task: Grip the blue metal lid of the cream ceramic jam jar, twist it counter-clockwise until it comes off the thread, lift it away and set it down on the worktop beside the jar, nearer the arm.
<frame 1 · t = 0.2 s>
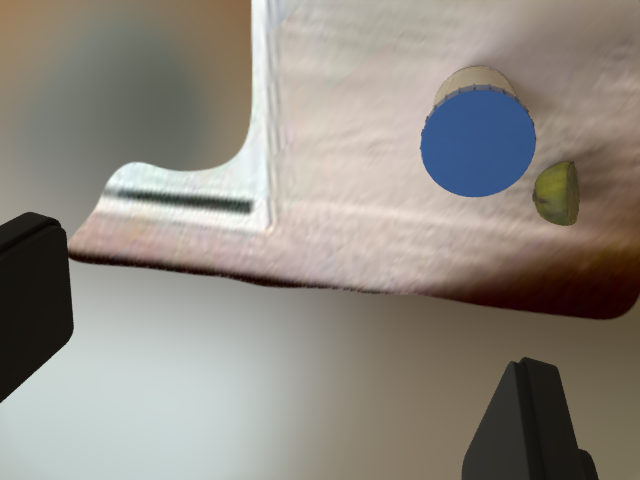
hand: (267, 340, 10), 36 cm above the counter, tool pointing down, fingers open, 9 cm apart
jar: (473, 107, 41), on the counter
lime: (557, 183, 42), on the counter
lid: (476, 144, 32), point 11 cm above the counter, screwed on, not yet turned
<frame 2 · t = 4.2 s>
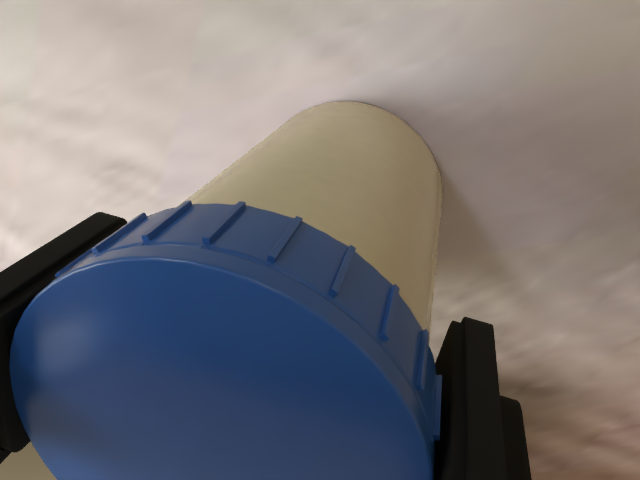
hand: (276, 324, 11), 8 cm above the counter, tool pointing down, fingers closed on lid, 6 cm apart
jar: (346, 195, 17), on the counter
lid: (215, 435, 8), point 11 cm above the counter, screwed on, not yet turned, touching gripper
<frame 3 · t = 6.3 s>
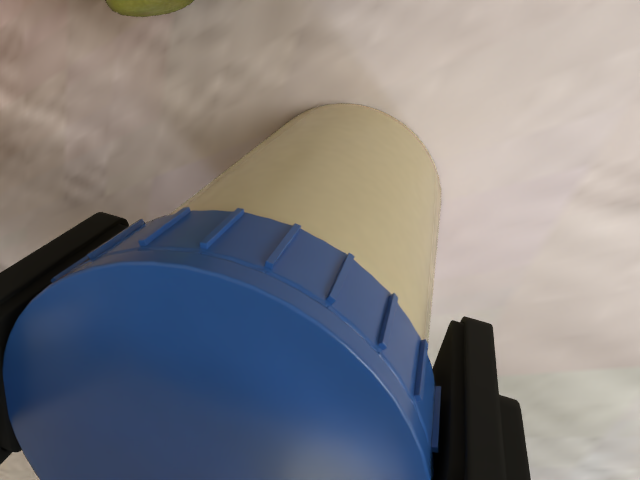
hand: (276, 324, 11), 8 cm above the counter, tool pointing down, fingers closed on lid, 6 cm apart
jar: (345, 197, 17), on the counter
lid: (210, 446, 8), point 11 cm above the counter, off its thread, touching gripper
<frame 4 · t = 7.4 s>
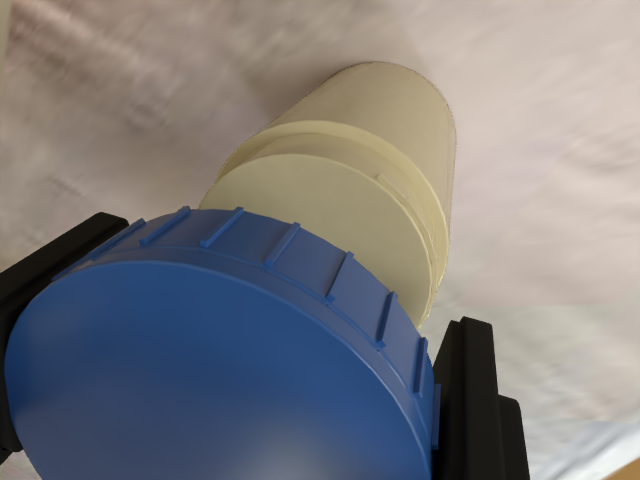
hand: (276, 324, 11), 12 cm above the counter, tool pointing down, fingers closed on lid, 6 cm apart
jar: (376, 143, 21), on the counter
lid: (210, 444, 8), point 15 cm above the counter, off its thread, touching gripper
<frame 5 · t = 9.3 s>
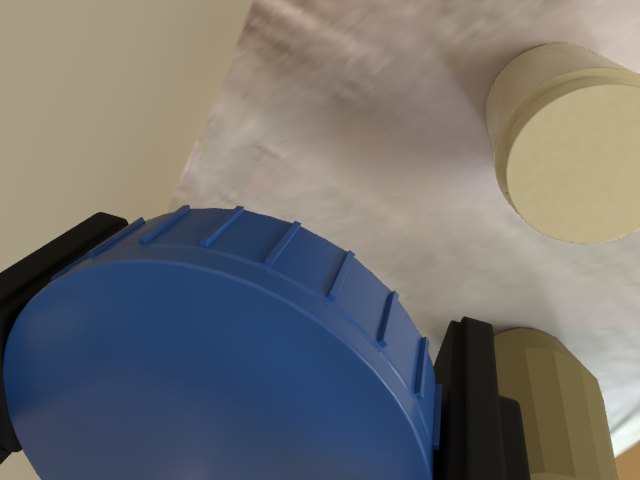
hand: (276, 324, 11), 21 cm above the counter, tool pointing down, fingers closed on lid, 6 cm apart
squeeze bottle: (522, 360, 34), on the counter
jar: (548, 107, 27), on the counter
lid: (210, 444, 8), point 24 cm above the counter, off its thread, touching gripper
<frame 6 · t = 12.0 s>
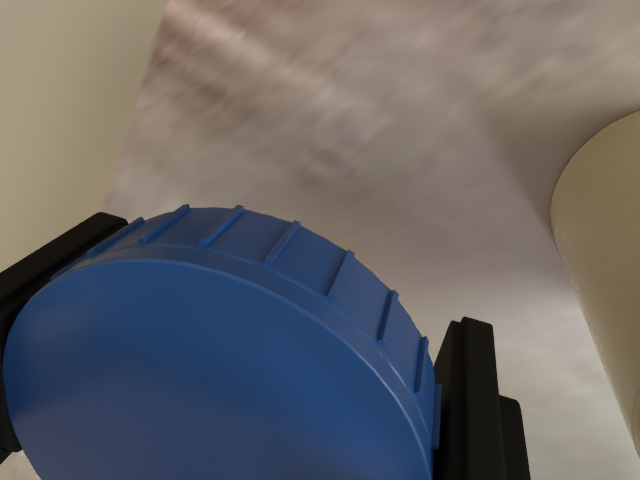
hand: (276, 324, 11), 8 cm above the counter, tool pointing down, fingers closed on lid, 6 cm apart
lid: (210, 444, 8), point 11 cm above the counter, off its thread, touching gripper
when the fingers open (0 cm above the counter, at t = 14.6 s): lid drops 2 cm, point 1 cm above the counter.
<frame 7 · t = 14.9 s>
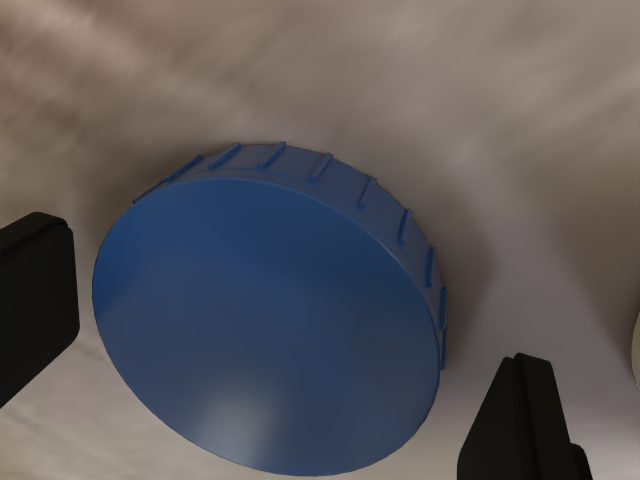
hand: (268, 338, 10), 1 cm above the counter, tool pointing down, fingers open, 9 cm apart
lid: (261, 336, 10), point 1 cm above the counter, off its thread
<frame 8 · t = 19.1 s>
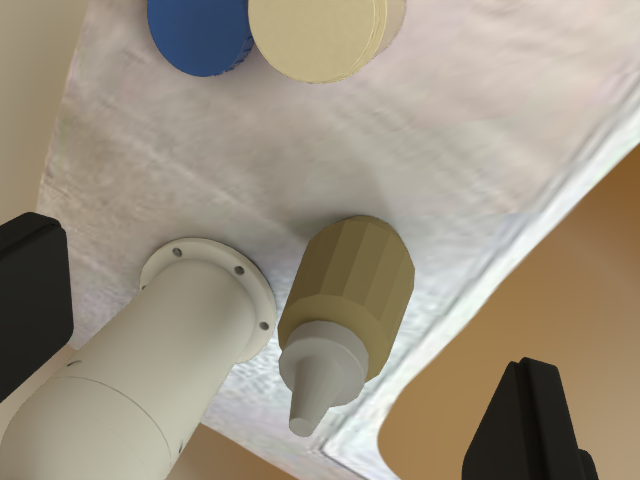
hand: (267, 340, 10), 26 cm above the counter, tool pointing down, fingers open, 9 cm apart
squeeze bottle: (366, 248, 39), on the counter
jar: (353, 6, 31), on the counter
lid: (198, 20, 33), point 1 cm above the counter, off its thread
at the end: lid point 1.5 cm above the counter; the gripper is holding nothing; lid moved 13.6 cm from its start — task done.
